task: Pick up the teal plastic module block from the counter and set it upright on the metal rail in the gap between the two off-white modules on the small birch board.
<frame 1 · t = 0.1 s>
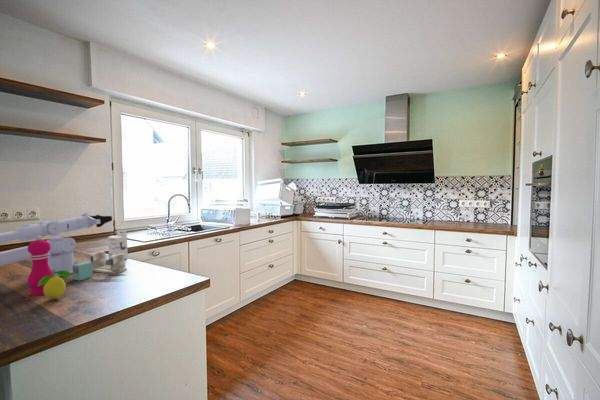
hand: (106, 218, 138), 22 cm above the countertop, tool horizontal, fingers open, 7 cm apart
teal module: (83, 278, 115), on the countertop
pepper mill: (42, 292, 100), on the countertop
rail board: (108, 270, 125), on the countertop
lemon: (56, 299, 94), on the countertop
ink box: (118, 259, 144), on the countertop
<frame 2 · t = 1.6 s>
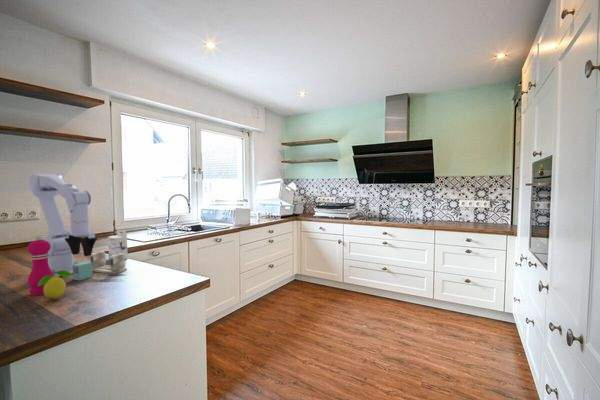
hand: (81, 254, 115), 9 cm above the countertop, tool pointing down, fingers open, 7 cm apart
nothing on the countertop moved.
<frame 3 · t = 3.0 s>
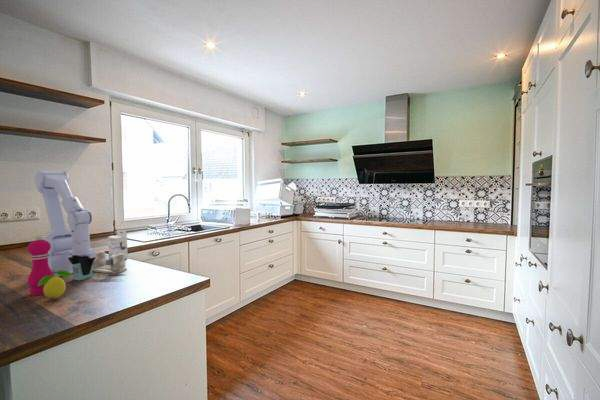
hand: (82, 274, 115), 2 cm above the countertop, tool pointing down, fingers closed on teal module, 4 cm apart
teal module: (83, 277, 115), on the countertop, touching gripper
everything else where it was.
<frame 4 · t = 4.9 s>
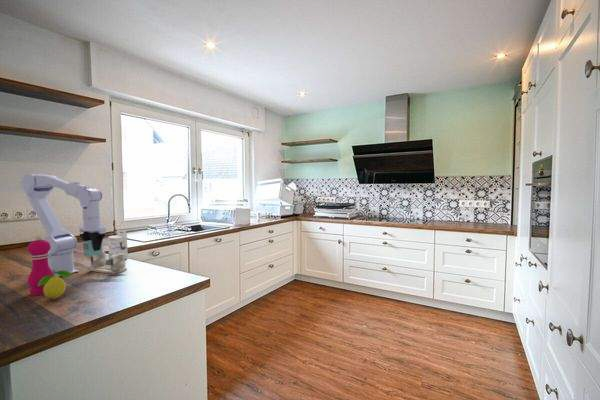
hand: (93, 249, 119), 10 cm above the countertop, tool pointing down, fingers closed on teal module, 4 cm apart
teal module: (93, 254, 119), point 8 cm above the countertop, touching gripper
everything else where it was.
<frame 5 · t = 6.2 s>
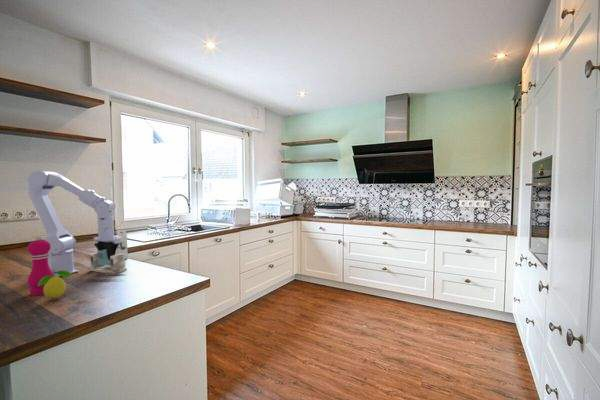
hand: (107, 258, 125), 5 cm above the countertop, tool pointing down, fingers closed on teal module, 4 cm apart
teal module: (107, 263, 124), point 3 cm above the countertop, touching gripper
everything else where it was.
when the fingers open (4 cm above the countertop, at t = 7.2 s): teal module stays where it is, resting on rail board.
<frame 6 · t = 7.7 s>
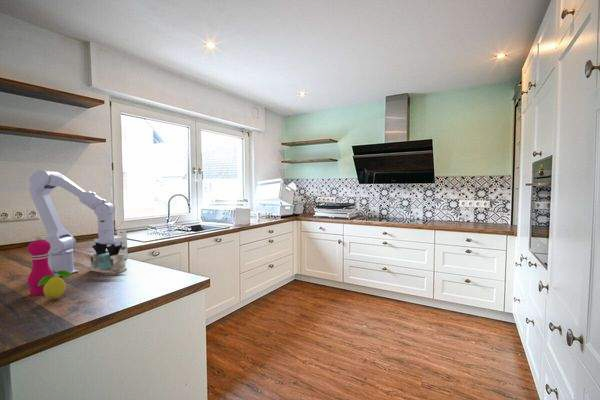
hand: (107, 260, 125), 4 cm above the countertop, tool pointing down, fingers open, 7 cm apart
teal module: (107, 267, 125), point 1 cm above the countertop, touching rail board
everything else where it was.
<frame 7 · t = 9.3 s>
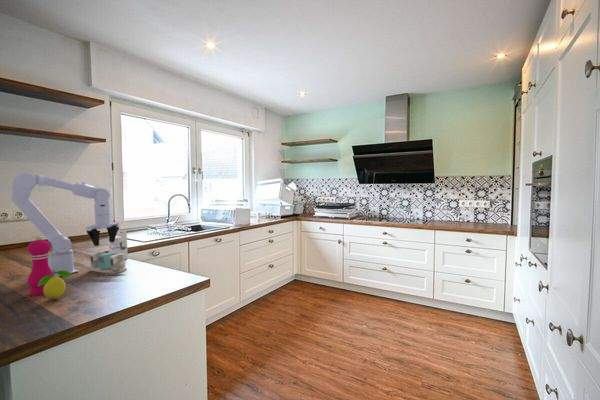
hand: (104, 243, 131), 10 cm above the countertop, tool pointing down, fingers open, 7 cm apart
nothing on the countertop moved.
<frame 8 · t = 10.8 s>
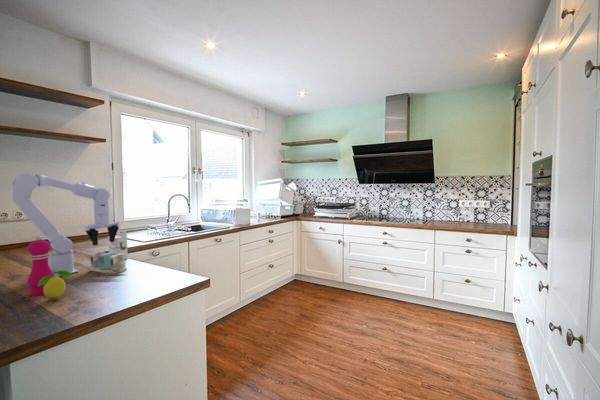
hand: (103, 243, 132), 10 cm above the countertop, tool pointing down, fingers open, 7 cm apart
nothing on the countertop moved.
at the end: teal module 0.3 cm off-centre on the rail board, point 1.4 cm above the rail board's base; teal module tilted 0°; the gripper is holding nothing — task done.
